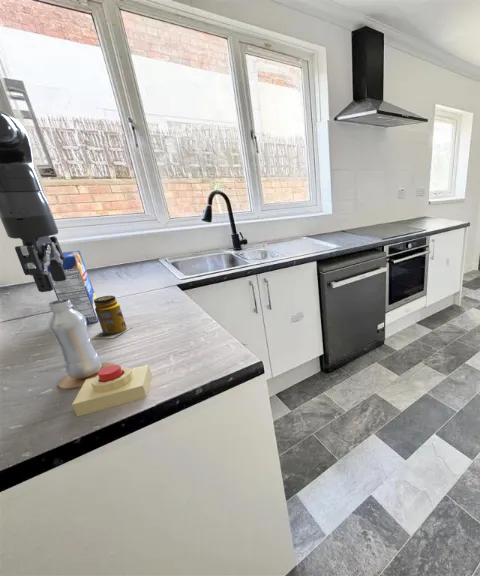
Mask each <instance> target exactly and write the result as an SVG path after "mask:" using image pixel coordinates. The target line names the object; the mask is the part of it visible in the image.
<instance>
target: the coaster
mask: <svg viewBox="0 0 480 576" xmlns="http://www.w3.org/2000/svg"><path fill="white" fill-rule="evenodd" d="M101 364H102V366H101V368H100V370H101V369H103V368H105V367H108V366H111V365H116V363H114V362H111V361H110V362H108V361H105V362H104V361H103V362H101ZM100 370H99V371H100ZM99 371H98V372H99ZM98 372H97V373H95V374H93V375H91V376H88V377H85V378H81V379H73V378H71V377H70V376H69V375H68V374H67V373H66V374H65V375H64V376H62V377H61V378H60V380H59V381H58V382H57V385H58V388H59V389H61V390H67V391H69V390H77V389H79V390H80V389H81V388H82V386H83V384H84V382H85V380H86V379H90V378H94V377H96V376H98Z"/></svg>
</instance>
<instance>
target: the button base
mask: <svg viewBox="0 0 480 576" xmlns="http://www.w3.org/2000/svg"><path fill="white" fill-rule="evenodd" d="M121 369H122V372H123V375H122V376H120V377H119V378H117V379H115V380H112V381H108V382H101V381H100V379H99V376H96V377H94V378H90V379H86V380H85V382H84V384H83V386H82V388H79V391H78V393H77V395H76V397H75V398H74V400H73V402H72V403H71V405H72V408H73V410H74V413H75V414H76V417H82V416H84V415H89V414H92V413H94V412H95V413H96V412H99V411H102V410H106V409H109V408H112V407H117V406H120V405H124V404H127V403H130V402H134V401H137V400H141V399H145V398H147V397H148V393H149V389H150V384H151V380H152V376H153V374H152V372H151V368H150V365H149V364H145V365H144V364H143V365H141V366H140V365H139V366H137V367H132V368H130V367H127V366H126V367H125V366H124V367H123V366H121Z"/></svg>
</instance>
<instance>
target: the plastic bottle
mask: <svg viewBox="0 0 480 576" xmlns="http://www.w3.org/2000/svg"><path fill="white" fill-rule="evenodd" d="M47 306H48V307H49V312H50V313H51V316H50V318H49V320H48V322H47V323H48V324H47V327H48V329H49V331H50V332H51V334H52V336H53V337H54V339H55V340H56V343H57V344H58V346H59V348H60V350H61V353H62V356H63V361H64V368H65V372H66V375H67V374H68V375H69V376H70V377H71V378H73V379H81V378H85V377H88V376H91V375H93V374H95V373H97V372H98V371H99V370H100V368H101V366H102V364H101V363H102V360H101V358H100V356H99V354H98V353H97V352H96V350H95V347H94V346H93V344H92V342H91V338H90V335H89V332H88V324H86V319H85V317H84V316H83V314H81V313H79V312H78V311H76V310H74V309H72V307H73V305H72V304H71V302H70V300H69V299H61V300H58V299H56V300H53V301H51V302H48V303H47Z"/></svg>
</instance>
